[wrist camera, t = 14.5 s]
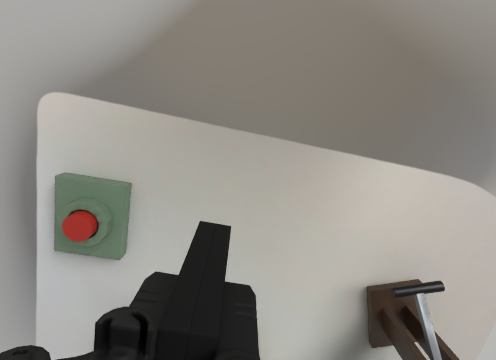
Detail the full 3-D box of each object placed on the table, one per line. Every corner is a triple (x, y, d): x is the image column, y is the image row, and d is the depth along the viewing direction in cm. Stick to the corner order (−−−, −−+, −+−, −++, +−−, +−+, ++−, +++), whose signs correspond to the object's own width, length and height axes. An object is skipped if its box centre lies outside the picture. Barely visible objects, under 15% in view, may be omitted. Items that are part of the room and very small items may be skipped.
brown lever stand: (366, 286, 48) (415, 355, 34) (418, 279, 47) (488, 345, 34) (369, 342, 51) (415, 426, 37) (417, 336, 50) (481, 417, 37)
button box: (64, 172, 41) (46, 178, 38) (131, 183, 42) (120, 190, 38) (63, 243, 44) (46, 256, 40) (125, 253, 45) (115, 266, 41)
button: (69, 208, 39) (62, 212, 37) (98, 212, 39) (92, 217, 38) (69, 233, 40) (61, 239, 38) (97, 238, 40) (90, 243, 39)
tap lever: (388, 286, 41) (396, 288, 39) (434, 279, 41) (445, 281, 39) (412, 385, 38) (422, 394, 36) (462, 378, 38) (476, 387, 36)
